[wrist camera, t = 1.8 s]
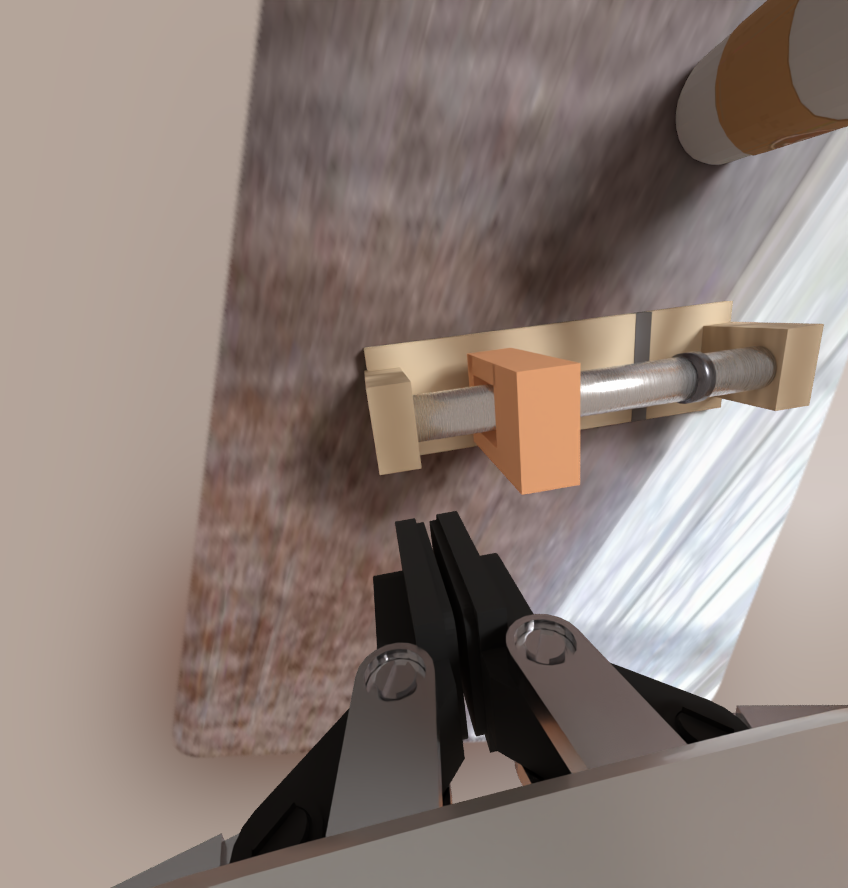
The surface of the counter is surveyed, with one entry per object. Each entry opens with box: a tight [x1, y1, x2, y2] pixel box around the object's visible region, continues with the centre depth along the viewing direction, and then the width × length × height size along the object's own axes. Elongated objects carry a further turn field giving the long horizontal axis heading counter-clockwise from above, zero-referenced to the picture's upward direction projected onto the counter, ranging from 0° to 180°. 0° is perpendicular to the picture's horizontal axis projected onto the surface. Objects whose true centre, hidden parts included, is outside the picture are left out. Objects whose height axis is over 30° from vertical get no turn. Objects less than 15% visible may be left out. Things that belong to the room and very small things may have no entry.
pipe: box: [413, 346, 777, 442], centre depth 26 cm, size 25×3×3 cm, turn 97°
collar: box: [467, 348, 581, 495], centre depth 24 cm, size 3×6×9 cm, turn 7°
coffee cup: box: [676, 0, 848, 165], centre depth 20 cm, size 8×8×15 cm
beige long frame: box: [364, 301, 824, 475], centre depth 28 cm, size 27×8×7 cm, turn 97°
